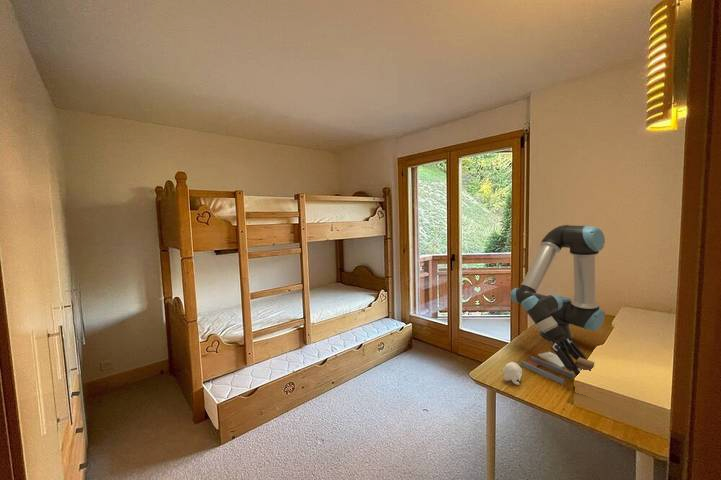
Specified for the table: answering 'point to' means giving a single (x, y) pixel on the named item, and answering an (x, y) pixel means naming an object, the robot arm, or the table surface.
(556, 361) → the external hard drive
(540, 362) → the channel
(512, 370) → the white figurine
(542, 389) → the table surface
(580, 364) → the walnut block
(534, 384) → the table surface
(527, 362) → the pad
